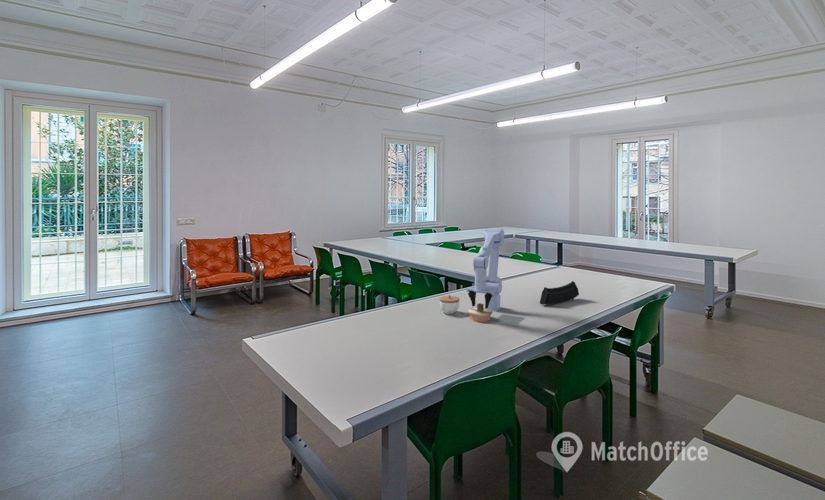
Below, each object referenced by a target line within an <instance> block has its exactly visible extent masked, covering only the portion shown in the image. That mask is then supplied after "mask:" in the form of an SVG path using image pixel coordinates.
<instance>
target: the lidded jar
mask: <svg viewBox="0 0 825 500" xmlns="http://www.w3.org/2000/svg"><path fill="white" fill-rule="evenodd" d="M439 307H440V310H441V311H442V312H443V314H446V315H453V314H455V313H456V312H457V311H458V310H459V307H460V298H459V297H457V296H454V295H453V296H452V295H450V294H449V295H444V296H440V297H439Z"/></svg>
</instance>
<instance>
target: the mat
mask: <svg viewBox="0 0 825 500" xmlns="http://www.w3.org/2000/svg"><path fill="white" fill-rule="evenodd" d="M525 319H526V317H521V316H515V315H509V314H504V313H503V314H501V315H500V316H497V317H496V318H495V319H494V322H495V321H496V322H502V323H507V324H515V325H518V324H520V323H521V322H522V321H523V320H525Z"/></svg>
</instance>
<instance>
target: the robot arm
mask: <svg viewBox="0 0 825 500" xmlns="http://www.w3.org/2000/svg"><path fill="white" fill-rule="evenodd" d="M503 229H504V228H503ZM503 229H502V228H485V229H484V232H483V239H484V243H483V245H482V246H481V247H480V249H479V252H478V253H477V256H475V257H474V258H473V261H472V262H473V263H472V265H473V270H474V271H473V272H474V287H473V286H472V287H471V286H468V287H466V292H468V293H467V294H468V297H469V299H470V302H471V306H472V308H475V306H476V297H477V293H478V294H484V308H486V309H490V310H492V312H494V313H495V312H497V311H499V310H501V309H503V307H502V306H501V293H502V290H503V285H502V284H503V281H502V279H501V278H500V277H499V276H498V270H499V260H500V259H499V258H500V250H501V249H500V248H501V246H503V245H504V240H505V231H504V230H503ZM487 269H488V271H487ZM487 273H488V274H487Z"/></svg>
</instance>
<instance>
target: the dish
mask: <svg viewBox="0 0 825 500" xmlns="http://www.w3.org/2000/svg"><path fill="white" fill-rule="evenodd" d="M469 319H470V321H473V322H477V323H479V322H480V323H482V322H483V323H485V322H489V321H491V315H488V316H476V315H471V314H469Z"/></svg>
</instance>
